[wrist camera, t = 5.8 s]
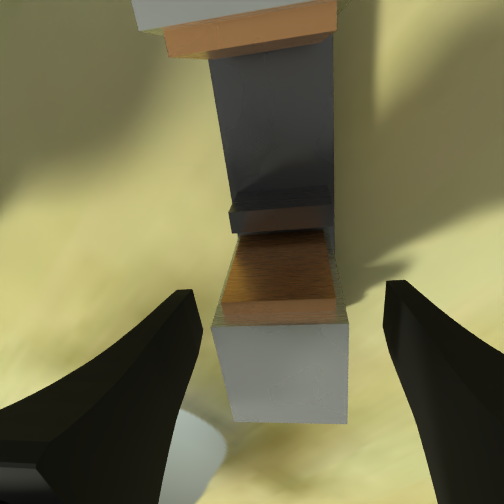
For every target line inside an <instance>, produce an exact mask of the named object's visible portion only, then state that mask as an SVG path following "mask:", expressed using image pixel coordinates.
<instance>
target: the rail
mask: <svg viewBox="0 0 504 504" xmlns="http://www.w3.org/2000/svg"><path fill="white" fill-rule="evenodd" d="M131 2H132V6H133V10H134V14H135V18H136V22H137V26H138V30H139V31H140V32H145V33H149V34H154V35H159V36H164V37H165V42H166V46H167V51H168V56H169V57H173V58H193V59H208V61H209V67H210V73H211V79H212V85H213V91H214V97H215V103H216V109H217V115H218V121H219V126H220V132H221V138H222V144H223V150H224V156H225V162H226V168H227V174H228V180H229V186H230V192H231V198H232V206H231V208H230V210H229V219H230V225H231V230H232V234H233V233H237V234H238V237H239V234H240V233H248V232H262V231H276V230H290V229H305V228H319V227H328V229H329V234H330V238H331V243H332V247H333V252H334V257H335V244H334V128H333V33H334V32H335V31H336V30H337V15H338V14H339V12H340V11H341V10H342V9H343V8H344V7H345V6H346V5H347V4H348V3H349V2H350V0H131Z"/></svg>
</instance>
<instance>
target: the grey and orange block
mask: <svg viewBox="0 0 504 504" xmlns="http://www.w3.org/2000/svg"><path fill="white" fill-rule="evenodd" d="M211 331H212V335H213V339H214V343H215V347H216V351H217V354H218V358H219V362H220V366H221V370H222V374H223V378H224V382H225V386H226V390H227V394H228V398H229V402H230V406H231V410H232V414H233V418H234V422H273V423H319V424H347V409H348V354H349V321H348V317H347V312H346V307H345V303H344V298H343V293H342V289H341V284H340V280H339V275H338V270H337V266H336V261H335V257H334V252H333V247H332V243H331V238H330V234H329V229H328V227H319V228H305V229H290V230H276V231H262V232H248V233H240V234H239V237H238V241H237V244H236V247H235V250H234V254H233V257H232V260H231V263H230V266H229V270H228V273H227V276H226V279H225V282H224V286H223V289H222V292H221V295H220V299H219V302H218V305H217V308H216V311H215V315H214V318H213V321H212V324H211Z"/></svg>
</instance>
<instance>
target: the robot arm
mask: <svg viewBox="0 0 504 504" xmlns="http://www.w3.org/2000/svg"><path fill="white" fill-rule="evenodd" d="M383 329H384V334H385V338H386V342H387V346H388V350H389V353H390V356H391V359H392V361H393V364H394V366H395V369H396V372H397V374H398V377H399V379H400V382H401V384H402V387H403V390H404V392H405V395H406V397H407V400H408V402H409V405H410V408H411V410H412V413H413V416H414V418H415V421H416V424H417V427H418V431H419V434H420V438H421V442H422V445H423V449H424V452H425V456H426V460H427V463H428V467H429V471H430V475H431V479H432V482H433V486H434V490H435V494H436V498H437V502H438V504H504V354H503V353H501V352H500V351H498V350H496V349H495V348H493V347H492V346H490V345H488V344H487V343H485V342H484V341H482V340H481V339H479V338H478V337H477V336H475V335H474V334H472V333H471V332H469V331H468V330H467V329H465V328H464V327H462V326H461V325H460V324H458V323H457V322H456V321H454V320H453V319H452V318H450V317H449V316H448V315H447V314H445V313H444V312H443V311H442V310H440V309H439V308H438V307H437V306H435V305H434V304H433V303H432V302H431V301H429V300H428V299H427V298H426V297H425V296H424V295H422V294H421V293H420V292H419V291H418V290H417V289H415V288H414V287H413V286H412V285H411V284H410V283H408V282H407V281H406V280H392V281H386V292H385V304H384V316H383ZM202 334H203V327H202V324H201V320H200V316H199V312H198V309H197V305H196V301H195V297H194V294H193V290H192V289H186V290H176V291H175V292H174V293H173V294H171V295H170V296H169V297H168V298H167V299H166V300H165V301H164V302H163V303H161V304H160V305H159V306H158V307H157V308H156V309H155V310H154V311H153V312H151V313H150V314H149V315H148V316H147V317H146V318H145V319H144V320H143V321H141V322H140V323H139V324H138V325H137V326H135V327H134V328H133V329H132V330H131V331H129V332H128V333H127V334H126V335H125V336H123V337H122V338H121V339H120V340H118V341H117V342H116V343H115V344H113V345H112V346H111V347H109V348H108V349H106V350H105V351H104V352H102V353H101V354H99V355H98V356H97V357H95V358H94V359H92V360H91V361H89V362H88V363H86V364H85V365H83V366H81V367H80V368H78V369H76V370H75V371H73V372H71V373H70V374H68V375H66V376H65V377H63V378H62V379H60V380H58V381H56V382H55V383H53V384H51V385H49V386H47V387H45V388H44V389H42V390H40V391H38V392H36V393H34V394H32V395H30V396H28V397H26V398H24V399H22V400H20V401H18V402H16V403H14V404H12V405H9V406H7V407H5V408H3V409H0V504H158V502H159V496H160V491H161V486H162V480H163V476H164V471H165V466H166V462H167V457H168V453H169V448H170V444H171V439H172V435H173V431H174V427H175V423H176V419H177V416H178V413H179V409H180V406H181V404H182V401H183V398H184V395H185V392H186V389H187V386H188V383H189V381H190V378H191V375H192V372H193V369H194V366H195V363H196V360H197V357H198V354H199V349H200V345H201V339H202Z"/></svg>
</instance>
